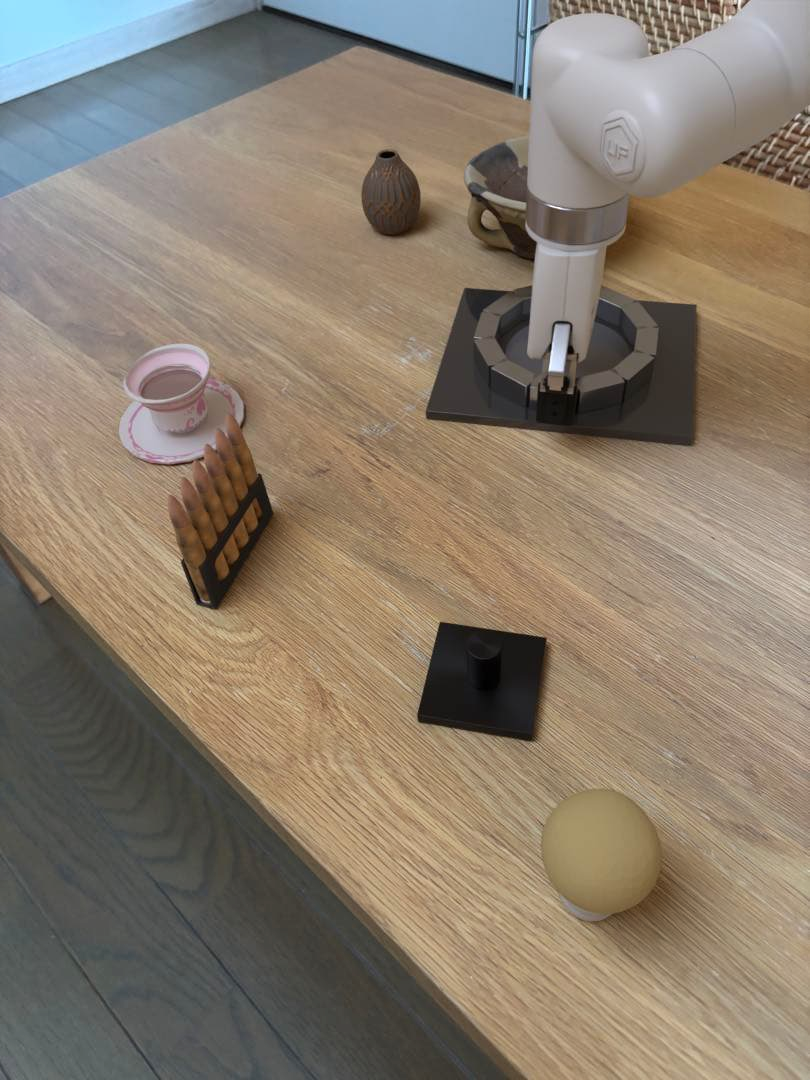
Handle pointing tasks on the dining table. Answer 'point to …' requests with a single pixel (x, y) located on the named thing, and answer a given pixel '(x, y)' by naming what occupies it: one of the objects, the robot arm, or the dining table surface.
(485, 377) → the steel ring
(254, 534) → the ammunition clip
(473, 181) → the bowl
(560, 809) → the light bulb
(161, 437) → the teacup
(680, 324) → the hob plate
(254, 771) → the dining table surface
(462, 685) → the ring stand
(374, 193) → the vase
